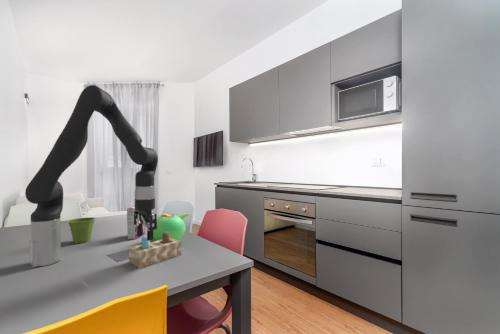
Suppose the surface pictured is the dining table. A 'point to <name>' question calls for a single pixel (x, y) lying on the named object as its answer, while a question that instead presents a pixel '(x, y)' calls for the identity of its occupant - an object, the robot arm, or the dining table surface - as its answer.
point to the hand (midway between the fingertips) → (144, 238)
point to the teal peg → (145, 243)
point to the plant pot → (81, 229)
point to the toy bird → (170, 226)
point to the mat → (119, 255)
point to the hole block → (154, 252)
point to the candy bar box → (132, 224)
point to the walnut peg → (165, 237)
